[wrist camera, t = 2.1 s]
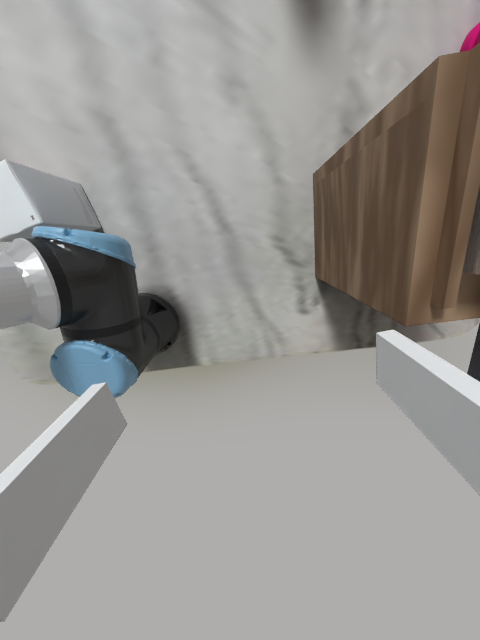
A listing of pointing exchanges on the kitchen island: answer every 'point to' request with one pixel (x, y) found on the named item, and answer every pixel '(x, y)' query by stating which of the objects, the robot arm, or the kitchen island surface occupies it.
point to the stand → (407, 200)
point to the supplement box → (40, 202)
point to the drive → (475, 262)
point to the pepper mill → (471, 39)
